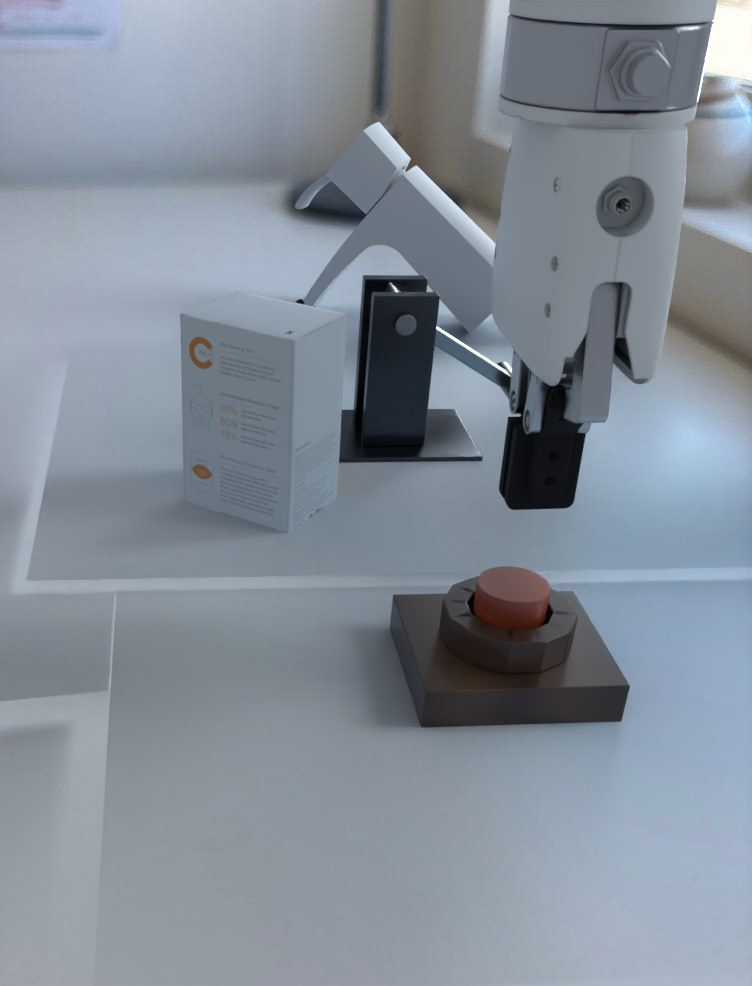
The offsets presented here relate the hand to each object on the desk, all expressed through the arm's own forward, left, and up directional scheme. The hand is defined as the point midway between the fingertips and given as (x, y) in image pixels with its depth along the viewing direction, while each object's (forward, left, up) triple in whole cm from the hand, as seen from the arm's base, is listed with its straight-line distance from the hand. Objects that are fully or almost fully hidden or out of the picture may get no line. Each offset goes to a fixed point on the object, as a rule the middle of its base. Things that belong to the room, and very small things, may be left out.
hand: (535, 500), depth 54 cm
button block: (0, 0, -10) cm, 10 cm away
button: (0, 0, -6) cm, 6 cm away
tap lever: (-2, -29, -3) cm, 29 cm away
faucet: (-6, -60, -10) cm, 61 cm away
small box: (+11, -19, -10) cm, 24 cm away
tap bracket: (+1, -29, -10) cm, 31 cm away
